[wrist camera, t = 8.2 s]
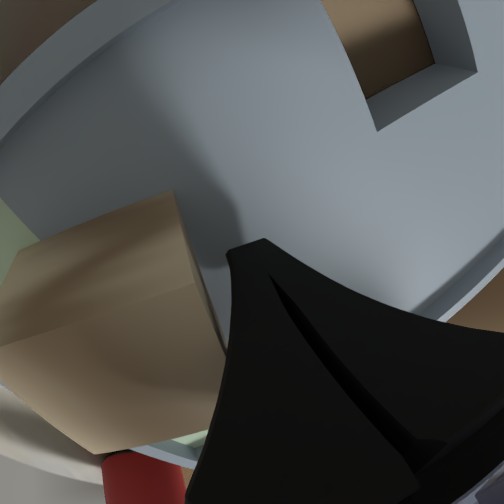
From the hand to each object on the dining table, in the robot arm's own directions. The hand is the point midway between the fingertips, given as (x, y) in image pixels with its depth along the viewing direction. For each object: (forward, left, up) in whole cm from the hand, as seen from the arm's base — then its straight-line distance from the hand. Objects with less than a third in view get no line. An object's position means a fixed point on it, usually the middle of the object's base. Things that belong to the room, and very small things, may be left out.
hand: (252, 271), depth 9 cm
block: (+1, +4, -1) cm, 4 cm away
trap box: (-1, -5, -3) cm, 6 cm away
